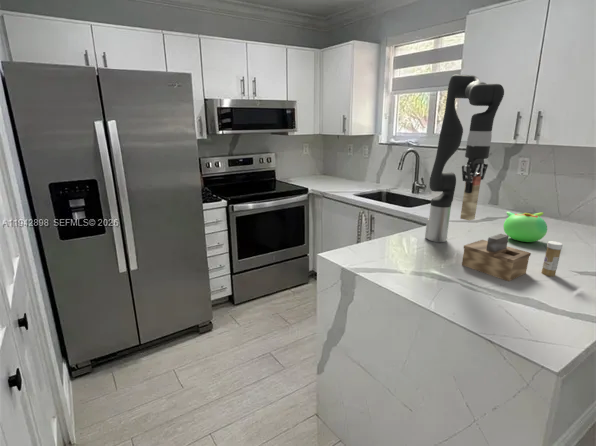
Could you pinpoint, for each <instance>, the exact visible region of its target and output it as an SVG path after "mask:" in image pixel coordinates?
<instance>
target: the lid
mask: <svg viewBox="0 0 596 446" xmlns="http://www.w3.org/2000/svg"><path fill="white" fill-rule="evenodd" d="M509 238H510V237H509V236H508V235H507V234H504V233H498V234H496V235H493V236H490V237H489V236H488V238H487V239H488V241H487V239H486V240H485V239H480V240H476V241H473V242H470V243H467V244H465V245H463V250H464V249H467V250H471V251H474V252H477V253H480V254H484V255H487V256H490V257H494V258H497V259H500V260H503V261H507V262H510V263H515V262H517V261H519V260H522V259H524V258H527V257H529V258H530V257H531V254H532V253H531V252H529V251H525V250H522V249H517V248H515V247H512V246H508V242H509ZM505 253H508V254H512V255H515V256H511V255H508V254H505Z"/></svg>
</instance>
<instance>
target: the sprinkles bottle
mask: <svg viewBox="0 0 596 446" xmlns="http://www.w3.org/2000/svg"><path fill="white" fill-rule="evenodd" d="M562 249H563V243H562V242H559V241H555V240H549V241H547V244H546V251H545V256H544V258H543V259H544V260H543V264H542V269H541V274H542V275H544V276H546V277H555V276H556V273H557V269H558V265H559V261H560V256H561V251H562Z"/></svg>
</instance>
